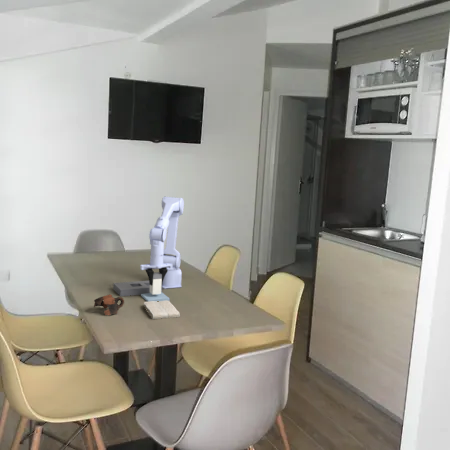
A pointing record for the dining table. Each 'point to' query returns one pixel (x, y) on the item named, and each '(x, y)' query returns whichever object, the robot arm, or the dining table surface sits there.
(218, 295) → the dining table surface
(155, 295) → the pad
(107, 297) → the broken clay pot
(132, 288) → the gray socket board
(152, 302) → the washcloth
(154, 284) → the plug
